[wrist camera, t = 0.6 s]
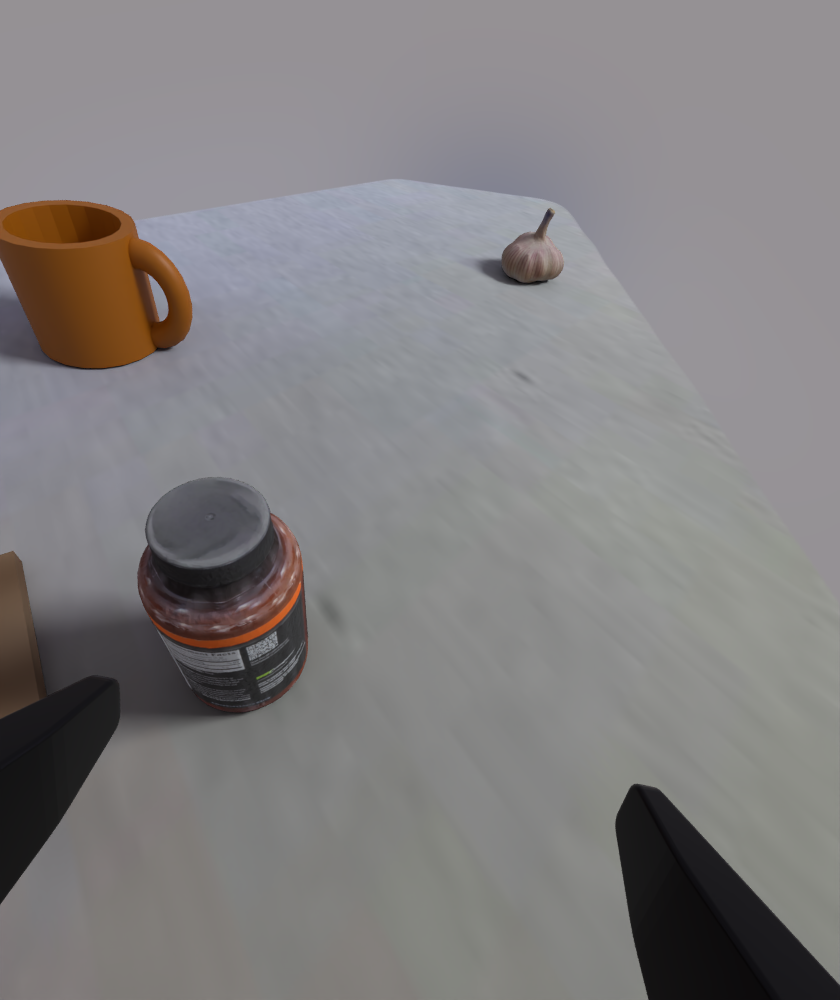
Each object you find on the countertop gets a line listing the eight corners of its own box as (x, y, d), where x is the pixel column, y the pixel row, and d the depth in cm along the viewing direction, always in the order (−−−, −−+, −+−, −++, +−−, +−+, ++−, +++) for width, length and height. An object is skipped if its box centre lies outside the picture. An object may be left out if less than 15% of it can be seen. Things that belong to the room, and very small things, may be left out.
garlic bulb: (561, 276, 64) (585, 208, 58) (550, 297, 59) (575, 226, 53) (506, 259, 65) (524, 190, 59) (491, 278, 60) (509, 206, 54)
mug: (158, 392, 37) (122, 274, 31) (13, 352, 38) (-53, 227, 31) (218, 336, 43) (199, 227, 37) (93, 302, 44) (52, 189, 37)
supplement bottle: (234, 588, 27) (195, 434, 19) (329, 631, 26) (332, 490, 18) (157, 685, 23) (65, 544, 15) (265, 739, 23) (232, 623, 14)
